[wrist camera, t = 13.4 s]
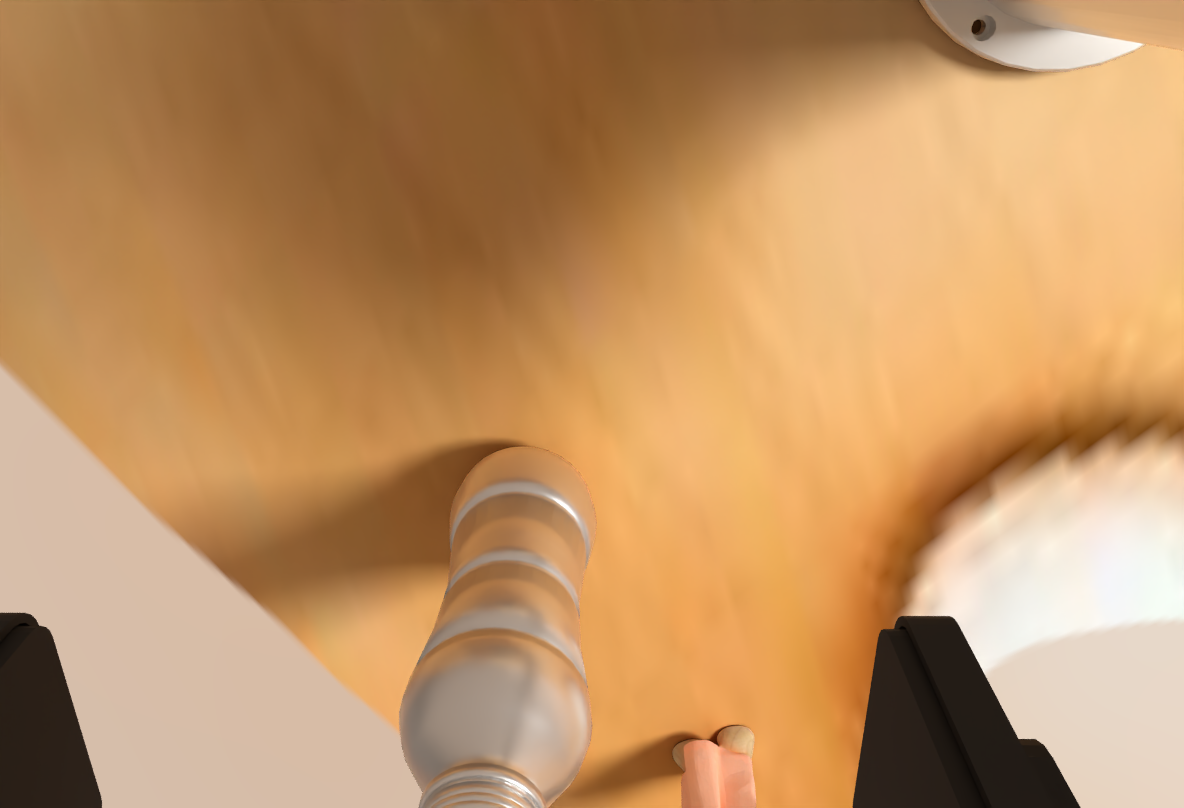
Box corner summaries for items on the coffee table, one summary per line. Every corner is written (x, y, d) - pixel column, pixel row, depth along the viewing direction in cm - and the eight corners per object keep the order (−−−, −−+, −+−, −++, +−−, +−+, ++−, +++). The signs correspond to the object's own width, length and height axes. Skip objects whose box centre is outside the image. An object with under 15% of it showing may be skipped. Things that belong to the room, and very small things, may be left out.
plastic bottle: (595, 428, 43) (590, 771, 25) (598, 554, 46) (594, 943, 28) (452, 429, 43) (344, 772, 25) (463, 555, 46) (374, 944, 28)
